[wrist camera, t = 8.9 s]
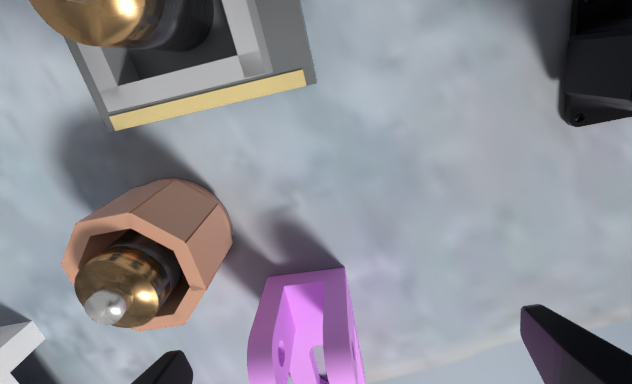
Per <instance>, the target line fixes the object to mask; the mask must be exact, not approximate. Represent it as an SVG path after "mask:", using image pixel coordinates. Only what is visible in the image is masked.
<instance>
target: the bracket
mask: <svg viewBox="0 0 632 384" xmlns="http://www.w3.org/2000/svg"><path fill="white" fill-rule="evenodd" d="M317 345H323V348H324V358H325V366H326V372H327V377H328V381H329V382H327V381H325V380H323V379H321V377H320V376H319V372H318V368H317V364H316V361H315V357H314V353H313V349H312V348H313V347H314V346H317ZM247 367H248V375H249V380H250V384H287V381H288V376H289V371H290V375H291V378H292V381H293V384H365V374H364V367H363V362H362V357H361V351H360V346H359V341H358V335H357V330H356V325H355V319H354V314H353V308H352V303H351V298H350V292H349V287H348V282H347V276H346V271H345V267H343V268H335V269H328V270H320V271H312V272H304V273H296V274H288V275H280V276H272V277H267V280H266V284H265V287H264V290H263V293H262V297H261V300H260V303H259V306H258V309H257V313H256V316H255V319H254V322H253V326H252V329H251V332H250V336H249V341H248V349H247Z"/></svg>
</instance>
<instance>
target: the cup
mask: <svg viewBox="0 0 632 384" xmlns="http://www.w3.org/2000/svg"><path fill="white" fill-rule="evenodd" d="M130 228H131V229H133V230H135V231H137V232H139V233H141V234H143V235H144V236H146V237H148V238H150V239H152V240H154V241H156V242H158V243H160V244H162V245H164V246H165V247H167V248H169V249H171V250H173V251H174V253H175V255H176V257H177V259H178V262H179V264H180V266H181V268H182V270H183V273H184V276H183V277H182V278H181V280H180V281H179V283H178V284H177V285H176V287H175V288H174V290H173V291H172V292H171V294H170V295H169V297H168V298H167V299H166V301H165V302H164V304H163V305H162V306H161V308H160V309H159V311H158V312H157V314H156V315H155V316H154V318H153V319H152V320H151V321H150V322H148V323H147V324H145V325H142V326H139V327H134V328H131V329H134V330H136V331H137V330H138V331H144V330H151V329H158V328H166V327H173V326H180V325H184V324H186V322H187V321H188V319H189V317H190V316H191V314H192V312H193V311H194V309H195V308H196V306H197V304H198V303H199V301H200V300H201V298H202V296H203V295H204V293H205V291H206V290H207V288H208V286H209V285H210V283H211V281H212V279H213V277H214V276H215V274H216V272H217V270H218V269H219V267H220V265H221V263H222V261H223V260H224V258H225V256H226V254H227V253H228V251H229V249H230V247H231V245H232V244H233V241H232V224H231V220H230V217H229V215H228V213H227V211H226V209H225V207H224V206H223V205H222V203H221V202H220V201H219V200H218V199H217V198H216V197H215V196H214V195H213V194H212V193H211V192H210V191H208V190H207V189H205V188H204V187H202V186H200V185H198V184H196V183H194V182H191V181H188V180H184V179H178V178H165V179H159V180H155V181H153V182H151V183H148V184H147V185H144V186H139V187H135V188H132V189H130V190H129V191H127V192H126V193H124V194H122V195H121V196H119V197H118V198H116V199H114V200H113V201H111V202H109V203H108V204H106V205H105V206H103V207H101V208H100V209H98V210H97V211H95V212H93V213H92V214H90V215H88V216H87V217H85V218H84V219H82V220H80V221H79V222H77V223H76V224H75V227H74V230H73V232H72V235H71V238H70V241H69V243H68V246H67V249H66V252H65V255H64V257H63V260H62V263H61V264H62V265H61V266H62V267H63V269H64V270H65V272H66V274H67V275H68V277H69V278H70V280H71V282H72V283H73V285H74V282H75V277H76V275H77V273H78V271H79V270H80V269H81V268H82V267H83V266H84V265H86V264H87V263H88V262H89V261H91V260H92V259H93V258H94V257H96V256H97V255H98V254H99V253H101V252H102V251H103V250H104V249H105V248H107V247H108V246H109V245H110V244H112V243H113V242H114V241H115V240H117V239H118V238H119V237H120V236H122V235H123V234H124V233H125V232H126V231H128V230H129V229H130Z"/></svg>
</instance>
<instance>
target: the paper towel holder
mask: <svg viewBox="0 0 632 384" xmlns="http://www.w3.org/2000/svg"><path fill="white" fill-rule="evenodd" d="M44 340H45V337H44V336H43V335H42V333H41V332H40V331H39V329H38V328H37V327H36V325H35V324H34V323H33V321H29V322H24V323H18V324H12V325H7V326H1V327H0V384H19V383H18V382H17V381H16V379H15V378H14V377H13V376H12V375H11V373H10V372H11V371H12V370H13V369H14V368H15V367H16V366H17V365H19V364H20V363H21V362H22V361H23V360H24V359H25V358H26V357H27V356H28V355H29V354H30V353H31V352H32V351H33V350H34V349H35V348H36V347H37V346H38V345H39V344H41V343H42V342H43V341H44Z"/></svg>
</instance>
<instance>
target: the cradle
mask: <svg viewBox="0 0 632 384" xmlns="http://www.w3.org/2000/svg"><path fill="white" fill-rule="evenodd" d="M213 5H214V19H213V24H212V28H211V30H210V33H209V34H208V36H207V38H206V39H205V40H204V41H203V42H202V43H201V44H200V45H199V46H198V47H196V48H194V49H192V50H189V51H184V52H174V51H158V50H143V49H128V48H112V47H97V46H88V45H84V44H80V43H77V42H75V41H72V40H70V39H68V38H66V37H65V36H64V38H65V41H66V43H67V45H68V47H69V49H70V51H71V53H72V55H73V58H74V60H75V62H76V64H77V66H78V68H79V70H80V72H81V75H82V77H83V79H84V81H85V83H86V85H87V87H88V89H89V92H90V94H91V96H92V98H93V100H94V102H95V104H96V107H97V109H98V111H99V113H100V115H101V117H102V119H103V121H104V124H105V126H106V128H107V130H108V132H113V131H117V130H122V129H126V128H130V127H134V126H139V125H143V124H147V123H151V122H155V121H160V120H164V119H168V118H172V117H177V116H181V115H185V114H189V113H193V112H198V111H202V110H206V109H210V108H215V107H219V106H223V105H227V104H231V103H236V102H240V101H244V100H248V99H253V98H257V97H261V96H265V95H269V94H274V93H278V92H282V91H286V90H291V89H295V88H299V87H303V86H307V85H311V84H315V83H317V79H316V75H315V70H314V65H313V60H312V56H311V51H310V46H309V42H308V37H307V32H306V28H305V23H304V18H303V13H302V9H301V4H300V0H213Z"/></svg>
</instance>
